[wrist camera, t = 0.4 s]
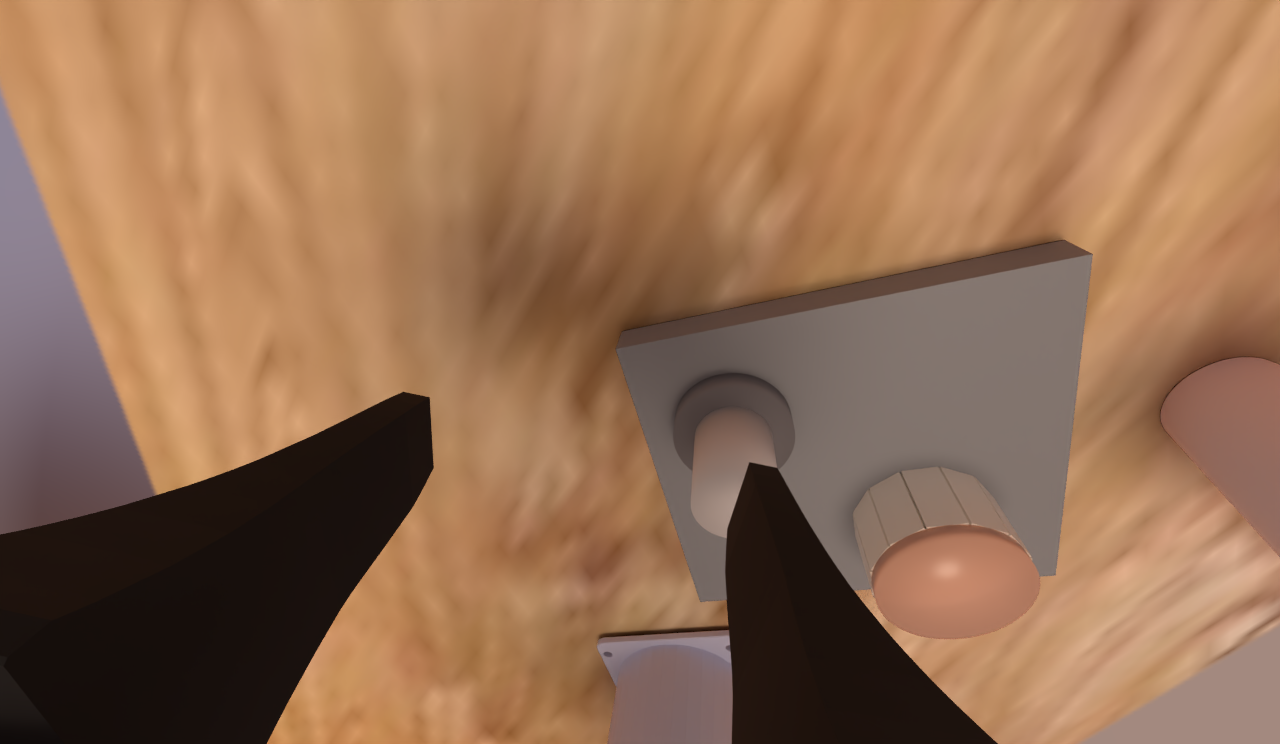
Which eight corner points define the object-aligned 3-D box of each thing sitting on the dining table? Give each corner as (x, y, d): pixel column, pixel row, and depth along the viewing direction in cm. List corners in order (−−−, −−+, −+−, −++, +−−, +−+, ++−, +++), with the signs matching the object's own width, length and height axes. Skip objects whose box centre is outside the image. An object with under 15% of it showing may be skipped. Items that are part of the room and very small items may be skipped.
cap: (991, 557, 22) (1035, 635, 19) (859, 568, 23) (880, 642, 20) (995, 459, 20) (1045, 530, 17) (847, 477, 21) (870, 546, 18)
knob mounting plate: (1036, 547, 23) (1127, 683, 18) (701, 576, 27) (697, 696, 22) (1064, 240, 17) (1215, 314, 12) (621, 331, 21) (589, 419, 16)
